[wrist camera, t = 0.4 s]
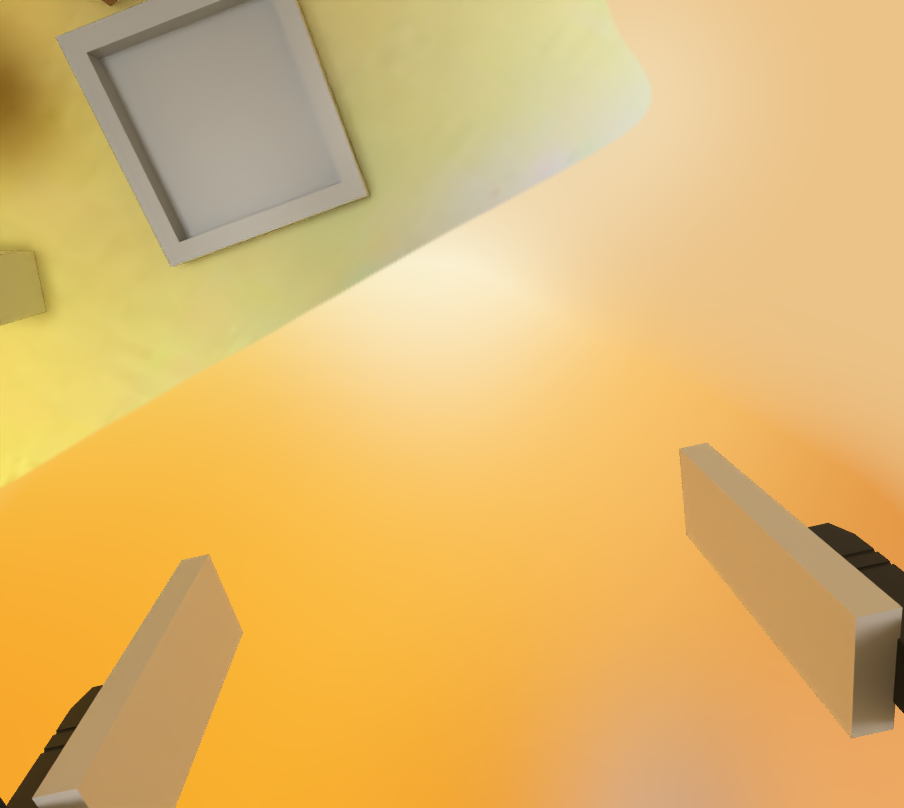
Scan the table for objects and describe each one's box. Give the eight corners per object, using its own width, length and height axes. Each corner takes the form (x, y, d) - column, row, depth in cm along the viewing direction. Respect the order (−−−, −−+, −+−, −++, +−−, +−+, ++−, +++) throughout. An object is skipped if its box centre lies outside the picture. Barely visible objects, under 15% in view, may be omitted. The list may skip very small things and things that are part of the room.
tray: (76, 46, 34) (55, 37, 32) (284, -36, 34) (276, -50, 32) (183, 263, 39) (171, 267, 37) (369, 195, 38) (367, 195, 36)
